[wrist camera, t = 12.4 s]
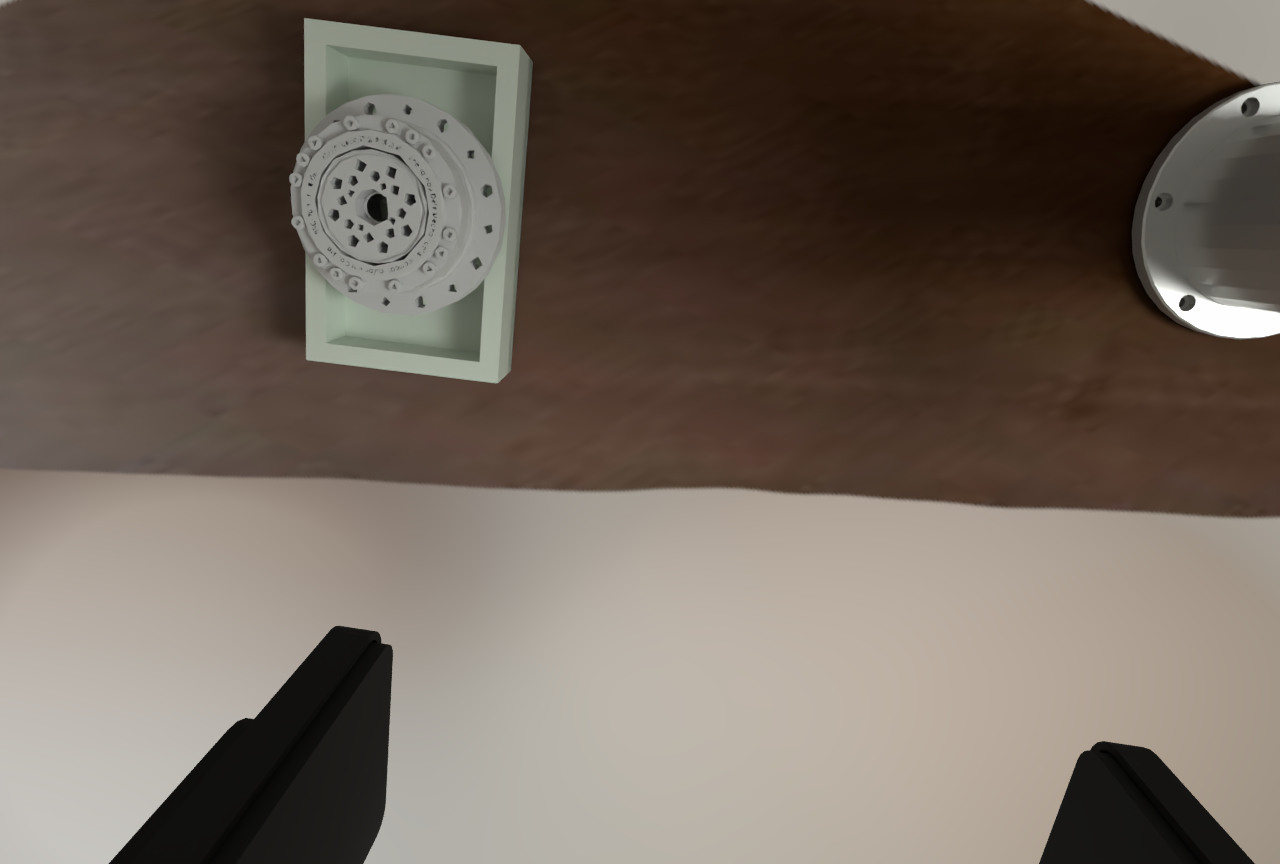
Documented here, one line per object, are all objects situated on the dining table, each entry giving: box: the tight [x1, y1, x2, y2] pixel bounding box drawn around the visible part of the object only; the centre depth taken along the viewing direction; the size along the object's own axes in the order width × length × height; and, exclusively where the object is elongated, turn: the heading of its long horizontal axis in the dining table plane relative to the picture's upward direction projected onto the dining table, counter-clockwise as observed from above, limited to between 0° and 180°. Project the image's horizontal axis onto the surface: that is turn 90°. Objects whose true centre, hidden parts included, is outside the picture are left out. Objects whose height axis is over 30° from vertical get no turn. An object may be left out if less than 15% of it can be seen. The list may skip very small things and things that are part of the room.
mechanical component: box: [289, 94, 506, 316], centre depth 33 cm, size 10×4×10 cm
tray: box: [304, 18, 533, 383], centre depth 37 cm, size 10×16×4 cm, turn 173°
